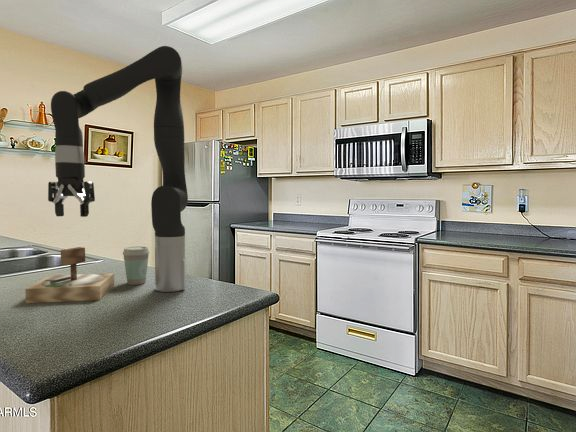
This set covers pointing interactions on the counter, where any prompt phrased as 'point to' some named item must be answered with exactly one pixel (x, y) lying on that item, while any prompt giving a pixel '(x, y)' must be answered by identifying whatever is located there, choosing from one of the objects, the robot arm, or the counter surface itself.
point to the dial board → (70, 288)
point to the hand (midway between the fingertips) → (72, 216)
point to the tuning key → (71, 261)
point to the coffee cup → (136, 264)
